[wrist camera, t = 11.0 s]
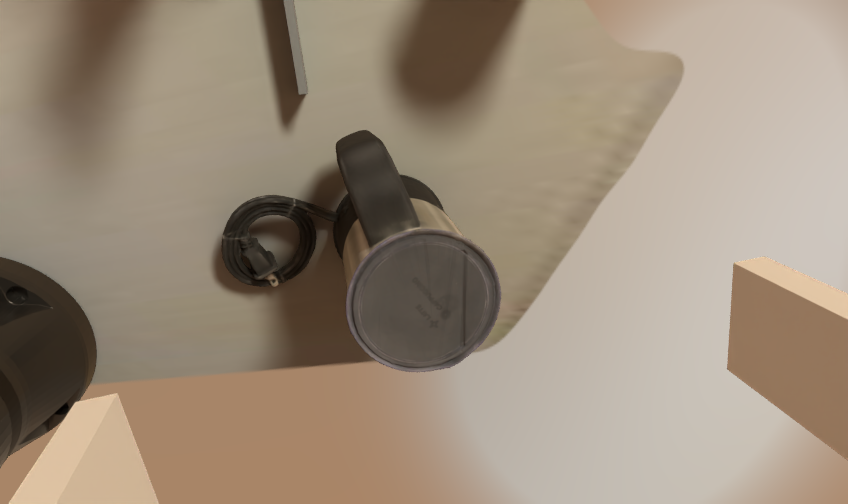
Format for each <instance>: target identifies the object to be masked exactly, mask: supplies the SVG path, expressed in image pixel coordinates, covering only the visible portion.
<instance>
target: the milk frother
mask: <svg viewBox="0 0 848 504" xmlns="http://www.w3.org/2000/svg"><path fill="white" fill-rule="evenodd" d="M336 153H337V161H338V165H339V168H340V171H341V174H342V177H343V180H344V183H345V185H346V188H347V191H348V194H347V195H346V196H345V197H344V199H343V200H342V202H341V204H340V205H339V207H338V210H337V212H336V213H335V212H332V211H329V210H326V209H324V208H321V207H318V206H316V205H313V204H310V203H307V202H304V201H300V200H297V199H293V198H289V197H285V196H279V195H266V196H260V197H256V198H253V199H251V200H249V201H247V202H245V203H243V204H242V205H241V206H239V207H238V208H237V209H236V210H235V211H234V212H233V213H232V215H231V217H230V218H229V220H228V222H227V224H226V227H225V230H224V233H223V238H222V254H223V260H224V263H225V265H226V267H227V269H228V270H229V272H230V273H231V274H232V275H233V276H234V277H235V278H237V279H238V280H240V281H241V282H243V283H246V284H249V285H253V286H260V287H261V286H269V285H272V286H274V287H276V286H278V284H279V283H284V282H285V281H287V280H288V279H291V278H293V277H294V276H296V275H297V274H299V273H300V272H301V271H302V270H303V269H304V268H305V267H306V266H307V264H308V263H309V259H310V258H311V256H312V254H313V252H314V249H315V245H316V231H315V228H314V224H313V222H312V220H311V218H310V217H309V215H308V214H307V212H310V213H312V214H315V215H317V216H319V217H322V218H324V219H327V220H330V221H332V222H334V227H333V236H334V242H335V246H336V249H337V252H338V254H339V255H340V257H341V259H342V260H343V265H344V270H345V277H346V284H347V290H348V291H347V296H346V317H347V322H348V326H349V329H350V332H351V334H352V335H353V336H354V338H355V340H356V341H357V343H358V344H359V345H360V347H361V348H362V349H363V350H364V351H365V352H366V353H367V354H368V355H369V356H370V357H372V358H373V359H374V360H376V361H378V362H379V363H381V364H383V365H386V366H389V367H391V368H394V369H397V370H401V371H408V372H425V371H433V370H438V369H444V368H450V367H452V366H454V365H456V364H458V363H459V362H461V361H462V360H463V359H464V358H466V357H467V356H469V355H470V354H471V353H472V352H473V351H474V350H475V349H476V348H478V347H479V346H480V345H481V344H482V343H483V342H484V340H485V339H486V338H487V336H488V335H489V333H490V332H491V330H492V328H493V326H494V324H495V321H496V319H497V316H498V313H499V309H500V301H501V290H500V283H499V278H498V275H497V272H496V269H495V267H494V265H493V263H492V262H491V260H490V259H489V257H488V256H487V255H486V254H485V252H484V251H483V250H482V249H481V248H480V247H478V246H477V245H476V244H475V243H473V242H472V241H471V240H469V239H467V238H465V237H464V236H463V234H462V233H461V232H460V231H459V229H458V228H457V227H456V225H455V224H454V223H453V222H452V221H451V219H450V218H449V217H448V216H447V214H446V213H445V212H444V210H443V207H442V205H441V203H440V201H439V199H438V198H437V196H436V195H435V194H434V193H433V191H432V190H431V189H430V188H428V187H427V186H426V185H425V184H423V183H422V182H420V181H418V180H416V179H414V178H412V177H408V176H405V175H399V173H398V171H397V169H396V167H395V165H394V163H393V161H392V158H391V156H390V155H389V153H388V151H387V149H386V147H385V146H384V144H383V142H382V141H381V140H380V139H379V138H377V137H376V136H375V135H373V134H372V133H371V132H369V131H367V130H362V131H358V132H355V133H352V134H350V135H348V136H346V137H343V138H342V139H340V140H339V141H338V142H337V143H336ZM266 215H281V216H285V217H287V218H290V219H291V220H293V221H294V222H295V223H296V224H297V226H298V228H299V231H300V243H299V247H298V250H297V252H296V254H295V255H294V257H293V258H292V260H291V261H290V262H289V263H288V264H287V265H285V266H284V267H283V268H282V269H280V270H278V271H275V270H276V269H277V268H278V266H277V263H276V260H275V258H274V255H273V254H272V253H271V252H270V251H265V249H264V248H263V247H262V246H261V245H260V244H259V243H258V240H257V239H256V238H251V236H250V233H249V231H248V228H249V226H250V225H251V224H252V223H253V222H254V221H255V220H256V219H258V218H260V217H263V216H266ZM240 249H241V250H240ZM240 253H242V255H243V256H244V257H248V259H249V261H250V266H251V269H250V268H248V267H247V266H246V265H245V263H244V262H243V260H242V258H241V256H240ZM274 271H275V272H274Z"/></svg>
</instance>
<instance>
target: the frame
mask: <svg viewBox="0 0 848 504" xmlns="http://www.w3.org/2000/svg"><path fill="white" fill-rule="evenodd" d="M284 6H285V12H286V18H287V24H288V30H289V36H290V43H291V49H292V55H293V61H294V67H295V73H296V79H297V85H298V91H299V95H300V94H308V89H307V82H306V76H305V70H304V63H303V57H302V51H301V44H300V38H299V32H298V25H297V19H296V13H295V6H294V0H284Z"/></svg>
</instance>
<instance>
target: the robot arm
mask: <svg viewBox="0 0 848 504" xmlns="http://www.w3.org/2000/svg"><path fill="white" fill-rule="evenodd" d="M96 358H97V350H96V342H95V337H94V333H93V330H92V327H91V325H90V323H89V320H88V318H87V317H86V315H85V313H84V311H83V310H82V308H81V307H80V306H79V304H78V303H77V302H76V301H75V299H74V298H73V297H72V296H71V295H70V294H69V293H68V292H67V291H66V290H65V289H64V288H62V287H61V286H60V285H59V284H58V283H56V282H55V281H54V280H52V279H51V278H49V277H48V276H46V275H44V274H43V273H41V272H39V271H37V270H35V269H33V268H31V267H29V266H27V265H24V264H22V263H19V262H16V261H13V260H9V259H6V258H2V257H0V468H1V466H2V464H3V463H4V462H5V460H6V459H7V458H8V456H10V455H11V454H13V453H14V452H16V451H18V450H19V449H21V448H23V447H24V446H26V445H27V444H29V443H31V442H32V441H34V440H36V439H37V438H39V437H41V436H42V435H44V434H45V433H47V432H49V431H50V430H52V429H53V428H54V427H56V426H57V425H58V424H59V423H61V422H62V421H63V422H62V423H61V425H60V426H59V428H58V429H57V431H56V432H55V434H54V435H53V437H52V438H51V440H50V442H49V443H48V444H47V446H46V447H45V449H44V451H43V452H42V454H41V455H40V457H39V458H38V460H37V461H36V463H35V464H34V466H33V467H32V469H31V470H30V472H29V473H28V475H27V476H26V478H25V479H24V481H23V482H22V484H21V486H20V487H19V488H18V490H17V492H16V493H15V495H14V496H13V498H12V499H11V501H10V502H9V504H159V503H158V500H157V498H156V495H155V492H154V489H153V487H152V484H151V481H150V479H149V476H148V473H147V471H146V468H145V465H144V463H143V460H142V457H141V455H140V452H139V450H138V447H137V444H136V442H135V439H134V436H133V434H132V431H131V428H130V426H129V423H128V420H127V418H126V415H125V412H124V410H123V407H122V404H121V402H120V399H119V396H118V394H117V393H116V394H111V395H107V396H102V397H98V398H92V399H88V400H83V401H79V400H80V399H81V397H82V396H83V394H84V393H85V391H86V389H87V388H88V386H89V384H90V382H91V380H92V377H93V374H94V371H95V366H96ZM727 369H728V370H729V371H730V372H731V373H733V374H734V375H736V376H737V377H738V378H739V379H741V380H742V381H743V382H745V383H746V384H747V385H749V386H750V387H751V388H753V389H754V390H755V391H757V392H758V393H759V394H761V395H762V396H763V397H765V398H766V399H768V400H769V401H770V402H771V403H773V404H774V405H775V406H777V407H778V408H779V409H781V410H782V411H783V412H784V413H786V414H787V415H789V416H790V417H791V418H793V419H794V420H795V421H796V422H798V423H799V424H801V425H802V426H803V427H805V428H806V429H807V430H808V431H810V432H811V433H812V434H814V435H815V436H816V437H818V438H819V439H820V440H822V441H823V442H824V443H825V444H827V445H828V446H829V447H831V448H832V449H833V450H835V451H836V452H837V453H839V454H840V455H841V456H843V457H844V458H845V459H847V460H848V294H847V293H845V292H843V291H840V290H838V289H836V288H834V287H831V286H829V285H827V284H825V283H822V282H820V281H818V280H816V279H814V278H811V277H809V276H807V275H805V274H802V273H800V272H798V271H796V270H793V269H791V268H789V267H787V266H785V265H782V264H780V263H778V262H776V261H773V260H771V259H769V258H767V257H760V258H755V259H750V260H745V261H741V262H736V263H734V265H733V282H732V300H731V316H730V331H729V348H728V365H727Z"/></svg>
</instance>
